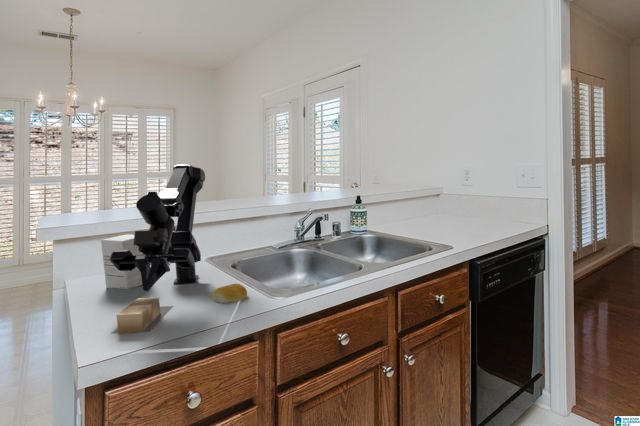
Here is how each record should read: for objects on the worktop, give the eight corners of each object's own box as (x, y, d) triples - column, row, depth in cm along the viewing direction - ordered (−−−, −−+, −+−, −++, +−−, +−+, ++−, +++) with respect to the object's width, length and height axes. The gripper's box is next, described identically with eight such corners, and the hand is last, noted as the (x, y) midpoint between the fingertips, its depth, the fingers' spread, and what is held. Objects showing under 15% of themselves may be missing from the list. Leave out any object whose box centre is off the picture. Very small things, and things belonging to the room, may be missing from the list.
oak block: (137, 298, 87) (116, 314, 77) (159, 297, 88) (140, 313, 78) (139, 314, 88) (118, 332, 78) (160, 313, 88) (142, 331, 78)
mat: (141, 309, 92) (140, 307, 92) (173, 307, 93) (173, 305, 93) (111, 335, 78) (111, 333, 78) (149, 333, 78) (149, 331, 78)
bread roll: (253, 296, 100) (252, 282, 99) (227, 307, 93) (226, 292, 92) (232, 291, 105) (231, 277, 104) (206, 301, 97) (205, 286, 97)
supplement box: (130, 279, 119) (125, 233, 117) (151, 281, 115) (147, 235, 114) (104, 288, 110) (99, 239, 108) (127, 291, 107) (122, 240, 105)
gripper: (109, 218, 89) (87, 275, 79) (187, 215, 90) (175, 272, 80) (127, 243, 98) (110, 298, 88) (198, 241, 98) (189, 294, 89)
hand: (145, 290), depth 86 cm, fingers closed
